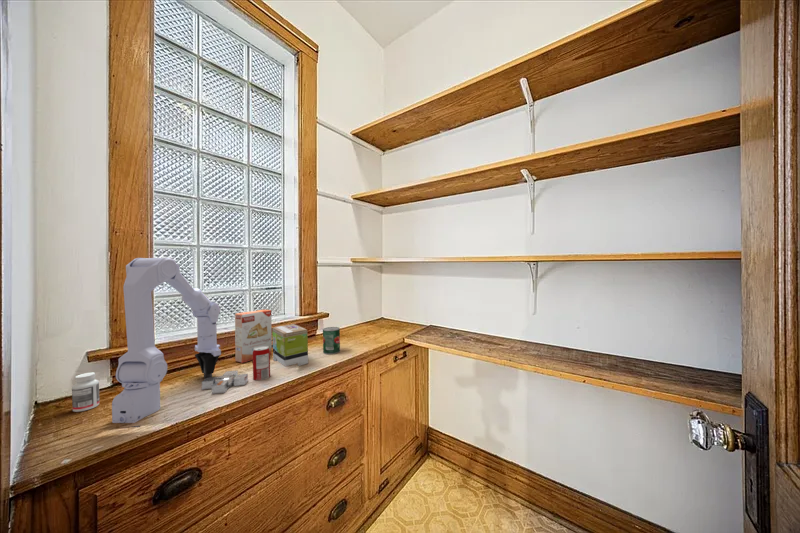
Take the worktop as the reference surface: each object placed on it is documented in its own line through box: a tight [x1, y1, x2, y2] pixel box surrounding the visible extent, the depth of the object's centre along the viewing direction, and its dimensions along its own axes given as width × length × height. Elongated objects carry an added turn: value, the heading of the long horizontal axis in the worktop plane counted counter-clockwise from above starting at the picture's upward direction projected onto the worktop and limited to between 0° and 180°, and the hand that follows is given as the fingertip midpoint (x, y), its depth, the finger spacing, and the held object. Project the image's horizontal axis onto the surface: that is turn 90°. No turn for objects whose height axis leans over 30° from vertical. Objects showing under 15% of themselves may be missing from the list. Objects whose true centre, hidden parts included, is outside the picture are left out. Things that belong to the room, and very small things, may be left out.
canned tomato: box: [322, 326, 341, 355], centre depth 134 cm, size 8×8×11 cm
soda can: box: [252, 346, 271, 381], centre depth 101 cm, size 6×6×12 cm
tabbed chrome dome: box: [201, 370, 249, 395], centre depth 95 cm, size 13×13×3 cm
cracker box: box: [234, 309, 273, 364], centre depth 127 cm, size 14×6×21 cm, turn 148°
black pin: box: [203, 366, 213, 380], centre depth 102 cm, size 2×2×8 cm
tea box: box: [271, 323, 309, 367], centre depth 120 cm, size 15×10×15 cm, turn 42°
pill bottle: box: [71, 371, 101, 413], centre depth 83 cm, size 5×5×10 cm
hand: (207, 373), depth 102 cm, fingers closed on black pin, 2 cm apart
